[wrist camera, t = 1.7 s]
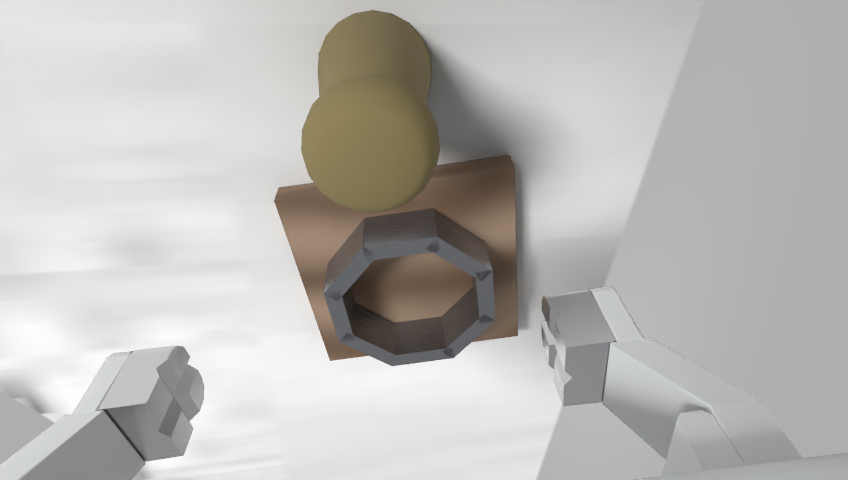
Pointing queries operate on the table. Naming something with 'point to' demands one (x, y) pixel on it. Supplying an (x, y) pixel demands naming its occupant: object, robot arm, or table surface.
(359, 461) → the table surface
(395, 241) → the metal collar
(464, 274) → the walnut base
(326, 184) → the cork
